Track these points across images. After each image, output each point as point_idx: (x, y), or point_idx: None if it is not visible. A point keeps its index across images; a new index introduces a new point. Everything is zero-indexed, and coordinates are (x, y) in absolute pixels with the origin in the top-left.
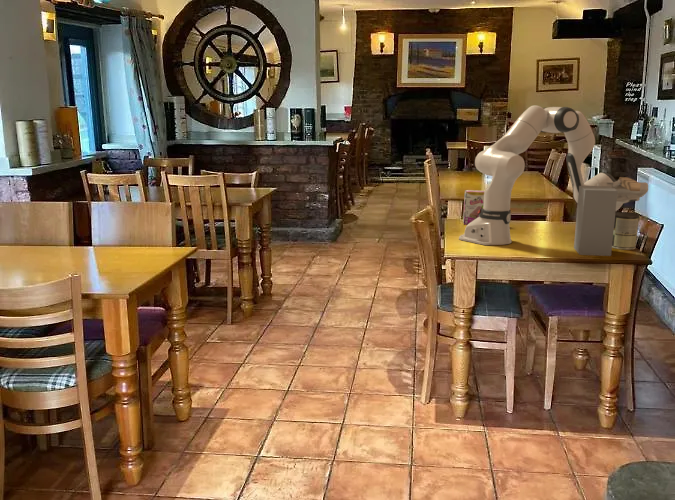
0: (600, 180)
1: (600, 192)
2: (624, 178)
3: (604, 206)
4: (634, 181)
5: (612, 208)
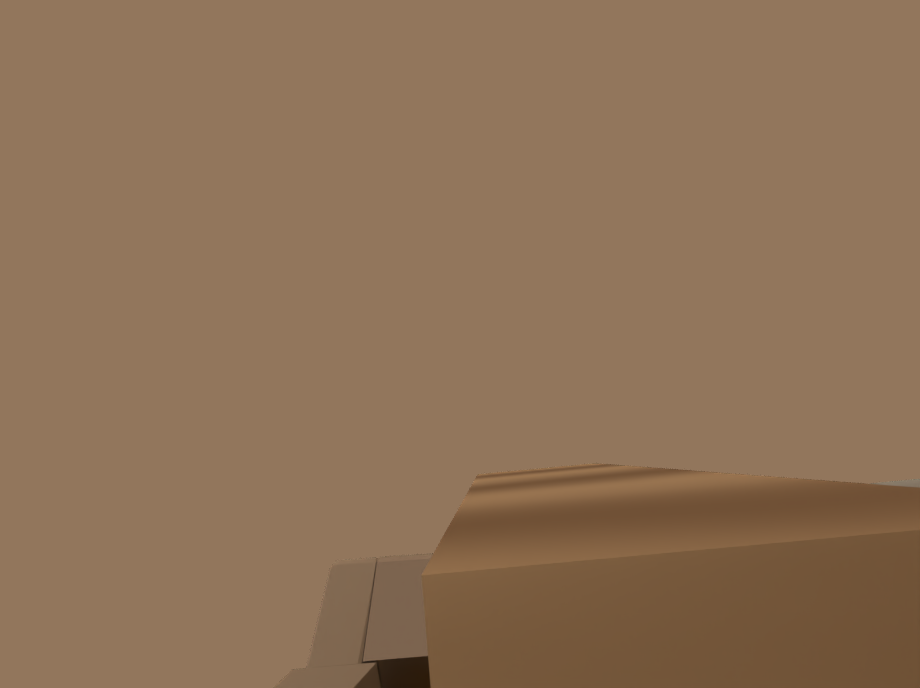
0: None
1: None
2: (695, 489)
3: None
4: (510, 477)
5: None
